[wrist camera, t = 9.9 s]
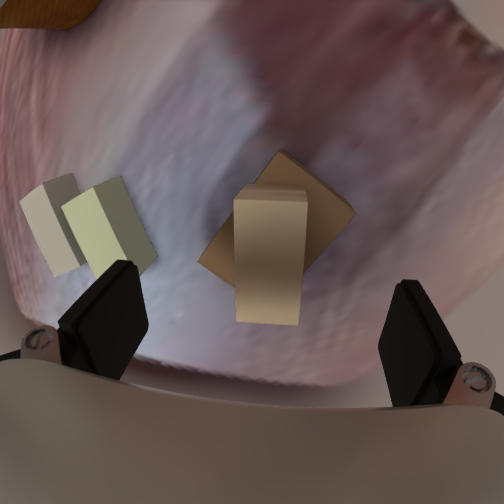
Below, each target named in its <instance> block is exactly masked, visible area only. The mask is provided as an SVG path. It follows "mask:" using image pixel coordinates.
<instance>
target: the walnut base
mask: <svg viewBox="0 0 504 504" xmlns="http://www.w3.org/2000/svg"><path fill="white" fill-rule="evenodd" d="M253 184H267V185H292V186H305V190H306V195H307V201H308V208H307V225H306V240H305V254H304V267H303V273H304V272H305V271H306V270H307V269H308V268H309V267H310V265H311V264H312V263H313V262H314V261H315V260H316V259H317V258H318V257H319V256H320V254H321V253H322V252H323V251H324V250H325V249H326V248H327V247H328V245H329V244H330V243H331V242H332V241H333V240H334V239H335V237H336V236H337V235H338V234H339V233H340V232H341V231H342V229H343V228H344V227H345V226H346V225H347V224H348V223H349V221H350V220H351V219H352V218H353V217H354V216H355V214H356V212H355V210H354V209H353V208H352V206H351V205H350V204H349V203H348V202H347V201H346V200H345V199H344V198H343V197H341V196H340V195H339V194H338V193H336V192H335V191H334V190H333V189H332V188H330V187H329V186H328V185H327V184H325V183H324V182H323V181H322V180H320V179H319V178H318V177H317V176H315V175H314V174H313V173H312V172H310V171H309V170H308V169H306V168H305V167H304V166H303V165H301V164H300V163H299V162H297V161H296V160H295V159H293V158H292V157H291V156H289V155H288V154H287V153H285V152H284V151H283V150H281V149H279V151H278V152H277V153H276V154H275V156H274V157H273V158H272V160H271V161H270V162H269V164H268V165H267V166H266V168H265V169H264V170H263V172H262V173H261V174H260V175H259V177H258V178H257V179H256V181H255V182H254V183H253ZM198 263H200V264H201V265H203V266H204V267H205V268H207V269H208V270H210V271H211V272H213V273H214V274H215V275H217V276H218V277H220V278H221V279H223V280H224V281H226V282H227V283H229V284H230V285H231V286H233V287H234V288H235V255H234V210H233V212H232V213H231V215H230V216H229V217H228V219H227V220H226V221H225V223H224V224H223V225H222V227H221V228H220V230H219V231H218V232H217V234H216V235H215V237H214V238H213V239H212V241H211V242H210V244H209V245H208V246H207V248H206V249H205V251H204V252H203V254H202V255H201V257H200V259H199V260H198Z"/></svg>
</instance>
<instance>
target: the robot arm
mask: <svg viewBox="0 0 504 504" xmlns="http://www.w3.org/2000/svg"><path fill="white" fill-rule="evenodd" d="M58 324H59V326H60V327H59V328H58V330H56V329H55V328H54V327H52V326H48V325H43V326H38V327H35V328H33V329H31V330H30V331H29V332H27V333H26V334H25V335H24V337H23V338H22V341H21V349H19V350H16V351H13V352H10V353H7V354H4V355H1V356H0V504H504V397H503V396H502V395H500V394H498V393H496V392H495V388H496V381H495V378H494V376H493V374H492V372H491V371H490V370H489V369H488V368H486V367H485V366H483V365H481V364H479V363H475V362H469V363H465V364H463V363H462V361H461V359H460V358H461V354H460V352H459V350H458V348H457V346H456V345H455V343H454V341H453V339H452V337H451V335H450V333H449V332H448V330H447V328H446V326H445V324H444V323H443V321H442V319H441V317H440V316H439V314H438V312H437V310H436V309H435V307H434V305H433V304H432V302H431V300H430V299H429V297H428V295H427V294H426V292H425V290H424V289H423V287H422V286H421V284H420V282H419V281H418V280H406V279H403V280H402V281H401V283H397V285H396V287H395V290H394V294H393V298H392V301H391V304H390V308H389V311H388V314H387V318H386V321H385V324H384V327H383V330H382V333H381V336H380V339H379V343H378V350H379V354H380V358H381V361H382V365H383V369H384V373H385V377H386V381H387V384H388V388H389V392H390V397H391V401H392V405H393V407H375V408H310V407H289V406H275V405H262V404H252V403H241V402H233V401H225V400H217V399H211V398H204V397H197V396H191V395H186V394H179V393H174V392H169V391H164V390H159V389H154V388H149V387H145V386H140V385H136V384H131V383H127V382H123V381H119V380H120V378H121V376H122V374H123V373H124V371H125V369H126V367H127V366H128V364H129V362H130V360H131V359H132V357H133V355H134V353H135V352H136V350H137V348H138V346H139V345H140V343H141V341H142V340H143V338H144V336H145V334H146V333H147V331H148V326H149V323H148V318H147V313H146V308H145V303H144V298H143V293H142V288H141V283H140V277H139V271H138V267H137V265H134V263H133V261H131V260H120V259H118V260H116V261H115V262H114V263H113V264H112V265H111V266H110V267H109V268H108V269H107V270H106V271H105V272H104V273H103V274H102V275H101V276H100V277H99V278H98V279H97V280H96V281H95V282H94V283H93V284H92V285H91V286H90V287H89V288H88V289H87V290H86V291H85V292H84V293H83V294H82V295H81V297H80V298H79V299H78V300H77V301H76V302H75V303H74V304H73V305H72V306H71V307H70V308H69V309H68V310H67V311H66V313H65V314H64V315H63V316H62V317H61V318H60V319H59V320H58Z"/></svg>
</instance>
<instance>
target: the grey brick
mask: <svg viewBox="0 0 504 504" xmlns="http://www.w3.org/2000/svg"><path fill="white" fill-rule="evenodd" d="M79 195H80V191H79V189H78V187H77V184H76V182H75V179H74V177H73V174H72V173H70V174H67V175H64V176H61V177H59V178H56V179H53V180H50V181H47V182H44V183H42V184H41V185H39V186H38V187H37V188H36V189H34V190H33V191H32V192H31V193H29V194H28V195H27V196H26V197H24V198H23V199H22V200H21V201H20V204H21V207H22V209H23V212H24V214H25V216H26V219H27V221H28V223H29V226H30V228H31V230H32V232H33V235H34V237H35V239H36V241H37V243H38V245H39V247H40V249H41V251H42V254H43V256H44V258H45V259H46V261H47V263H48V265H49V267H50V269H51V271H52V273H53V275H54V277H57V276H60V275H62V274H64V273H66V272H69V271H71V270H73V269H76V268H78V267H80V266H82V265H83V264H84V263H85V262H87V260H86V258H85V256H84V254H83V252H82V250H81V248H80V246H79V244H78V242H77V240H76V238H75V236H74V234H73V232H72V229H71V227H70V225H69V223H68V221H67V219H66V216H65V214H64V212H63V210H62V207H61V206H63V205H64V204H66V203H67V202H69V201H71V200H72V199H74V198H75V197H77V196H79Z"/></svg>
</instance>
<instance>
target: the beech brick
mask: <svg viewBox="0 0 504 504" xmlns="http://www.w3.org/2000/svg"><path fill="white" fill-rule="evenodd" d="M233 202H234V255H235V294H236V321H237V322H250V323H263V324H278V325H295V326H298V322H299V312H300V301H301V290H302V279H303V267H304V254H305V240H306V225H307V208H308V201H307V195H306V190H305V186H292V185H267V184H245V186H244V187H243V188H242V189H241V191H240V192H239V193H238V194H237V196H236V197H235V198H234V199H233Z"/></svg>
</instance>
